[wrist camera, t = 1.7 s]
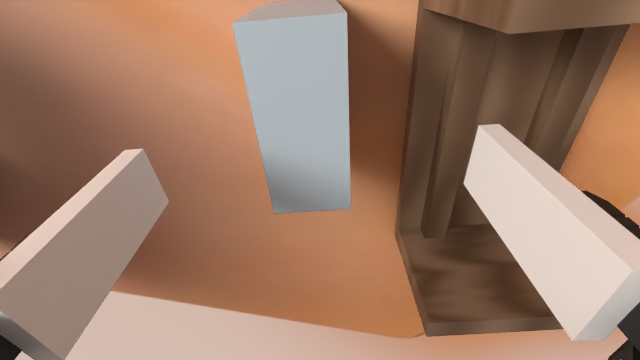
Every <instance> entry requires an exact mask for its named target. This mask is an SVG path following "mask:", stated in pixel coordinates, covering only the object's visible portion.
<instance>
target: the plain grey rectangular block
mask: <svg viewBox="0 0 640 360" xmlns="http://www.w3.org/2000/svg"><path fill="white" fill-rule="evenodd" d="M232 26H233V31H234V35H235V39H236V44H237V48H238V53H239V57H240V62H241V66H242V71H243V75H244V80H245V84H246V89H247V93H248V98H249V102H250V107H251V111H252V115H253V120H254V124H255V129H256V133H257V138H258V142H259V147H260V151H261V156H262V160H263V165H264V169H265V174H266V178H267V183H268V187H269V192H270V196H271V200H272V205H273V209H274V214H280V213H295V212H309V211H324V210H338V209H351V191H350V139H349V87H348V35H347V12H346V11H345V10H344V9H343V7H342V6H341V5H340V4H339V3H338V2H337V1H336V0H292V1H281V2H270V3H265V4H263V5H262V6H260V7H258V8H256V9H255V10H253V11H251V12H250V13H248V14H246V15H244V16H243V17H241V18H239V19H238V20H236V21H234V22H232Z"/></svg>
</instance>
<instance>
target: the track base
mask: <svg viewBox="0 0 640 360" xmlns="http://www.w3.org/2000/svg"><path fill="white" fill-rule="evenodd" d="M633 23H640V0H419V6H418V15H417V25H416V35H415V44H414V54H413V63H412V73H411V83H410V92H409V102H408V111H407V121H406V131H405V140H404V150H403V160H402V169H401V179H400V188H399V198H398V208H397V217H396V227H395V237H396V240H397V243H398V247H399V250H400V253H401V256H402V260H403V263H404V266H405V269H406V272H407V276H408V279H409V282H410V285H411V288H412V292H413V295H414V298H415V301H416V304H417V308H418V311H419V314H420V317H421V321H422V324H423V327H424V330H425V333H426V336H427V337H428V336H446V335H464V334H483V333H501V332H518V331H536V330H555V329H563V327H562V326H561V324H560V323H559V321H558V320H557V318H556V317H555V316H554V314H553V313H552V311H551V310H550V308H549V307H548V305H547V304H546V303H545V301H544V300H543V298H542V297H541V295H540V294H539V292H538V291H537V289H536V288H535V287H534V285H533V284H532V282H531V281H530V279H529V278H528V276H527V275H526V274H525V272H524V271H523V269H522V268H521V266H520V265H519V263H518V262H517V261H516V259H515V258H514V256H513V255H512V253H511V252H510V250H509V249H508V248H507V246H506V245H505V243H504V242H503V240H502V239H501V237H500V236H499V235H498V233H497V232H496V230H495V229H494V227H493V226H492V224H491V223H490V222H489V220H488V219H487V217H486V216H485V214H484V213H483V211H482V210H481V209H480V207H479V206H478V204H477V203H476V201H475V200H474V198H473V197H472V196H471V194H470V193H469V191H468V190H467V188H466V187H465V185H464V180H465V176H466V172H467V168H468V164H469V160H470V156H471V153H472V149H473V145H474V141H475V137H476V133H477V129H478V126H479V125H490V124H500V125H501V126H502V127H504V128H505V129H506V130H507V131H508V132H510V133H511V134H512V135H513V136H514V137H516V138H517V139H518V140H519V141H521V142H522V143H523V144H524V145H525V146H527V147H528V148H529V149H530V150H531V151H533V152H534V153H535V154H536V155H537V156H539V157H540V158H541V159H542V160H544V161H545V162H546V163H547V164H548V165H550V166H551V167H552V168H553V169H554V170H556V171H557V172H559V170H560V168H561V166H562V164H563V162H564V160H565V158H566V156H567V154H568V152H569V150H570V148H571V146H572V143H573V141H574V139H575V137H576V135H577V133H578V131H579V129H580V127H581V125H582V123H583V121H584V119H585V117H586V114H587V112H588V110H589V108H590V106H591V104H592V102H593V100H594V98H595V96H596V94H597V92H598V90H599V88H600V86H601V83H602V81H603V79H604V77H605V75H606V73H607V71H608V69H609V67H610V65H611V63H612V61H613V59H614V57H615V54H616V52H617V50H618V48H619V46H620V44H621V42H622V40H623V38H624V36H625V34H626V32H627V30H628V28H629V26H630V24H633Z"/></svg>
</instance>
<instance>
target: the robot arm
mask: <svg viewBox="0 0 640 360" xmlns="http://www.w3.org/2000/svg"><path fill="white" fill-rule="evenodd" d="M464 185H465V187H466V188H467V190H468V191H469V193H470V194H471V196H472V197H473V198H474V200H475V201H476V203H477V204H478V206H479V207H480V209H481V210H482V211H483V213H484V214H485V216H486V217H487V219H488V220H489V222H490V223H491V224H492V226H493V227H494V229H495V230H496V232H497V233H498V235H499V236H500V237H501V239H502V240H503V242H504V243H505V245H506V246H507V248H508V249H509V250H510V252H511V253H512V255H513V256H514V258H515V259H516V261H517V262H518V263H519V265H520V266H521V268H522V269H523V271H524V272H525V274H526V275H527V276H528V278H529V279H530V281H531V282H532V284H533V285H534V287H535V288H536V289H537V291H538V292H539V294H540V295H541V297H542V298H543V300H544V301H545V303H546V304H547V305H548V307H549V308H550V310H551V311H552V313H553V314H554V316H555V317H556V318H557V320H558V321H559V323H560V324H561V326H562V327H563V329H564V330H565V331H566V333H567V334H568V336H569V337H570V339H571V340H572V341H590V340H605V339H606V338H607V337H608V336H609V335H610V334H611V333H612V332H613V331H614V330H615V328H617V327H618V328H619V329H620V330H621V331H622V332H623V333H624V335H625V336H626V337H627V338H628V340H627V341H626V342H625V343H624V344H623V345H622V346H621V347H620V348H618V349H617V350H616V351H615V352H614V353H613V354H612V355H611V356H610V357H609V359H608V360H621V359H622V360H640V229H639V225H637V224H636V223H635V222H633V221H632V220H631V219H630V218H628V217H627V218H626V217H625V214H623V213H622V212H621V211H619V210H618V209H617V208H616V207H614V206H613V205H612V204H610V203H609V202H608V201H606V200H604V199H602V198H600V197H598V196H596V195H594V194H592V193H590V192H588V191H580V190H579V189H578V188H576V187H575V186H574V185H573V184H571V183H570V182H569V181H568V180H567V179H565V178H564V177H563V176H562V175H561V174H559V173H558V172H557V171H556V170H554V169H553V168H552V167H551V166H550V165H548V164H547V163H546V162H545V161H544V160H542V159H541V158H540V157H539V156H537V155H536V154H535V153H534V152H533V151H531V150H530V149H529V148H528V147H527V146H525V145H524V144H523V143H522V142H521V141H519V140H518V139H517V138H516V137H514V136H513V135H512V134H511V133H510V132H508V131H507V130H506V129H505V128H504V127H502V126H501V125H500V124H490V125H479V126H478V129H477V133H476V137H475V141H474V145H473V149H472V153H471V156H470V160H469V164H468V168H467V172H466V176H465V180H464ZM168 203H169V200H168V198H167V196H166V194H165V192H164V190H163V188H162V186H161V184H160V182H159V180H158V178H157V176H156V174H155V171H154V169H153V167H152V165H151V163H150V161H149V159H148V157H147V155H146V153H145V151H144V149H131V150H124V151H123V152H122V153H121V154H120V155H119V156H118V157H116V158H115V159H114V160H113V161H112V162H111V163H110V164H109V165H107V166H106V167H105V168H104V169H103V170H102V171H101V172H100V173H99V174H97V175H96V176H95V177H94V178H93V179H92V180H91V181H90V182H88V183H87V184H86V185H85V186H84V187H83V188H82V189H81V190H80V191H78V192H77V193H76V194H75V195H74V196H73V197H72V198H71V199H69V200H68V201H67V202H66V203H65V204H64V205H63V206H62V207H61V208H59V209H58V210H57V211H56V212H55V213H54V214H53V215H52V216H50V217H49V218H48V219H47V220H46V221H45V222H44V223H43V224H42V225H40V226H39V227H38V228H37V229H36V230H35V231H34V232H32V233H30V234H29V235H27V236H26V237H25V238H24V239H22V240H21V241H20V242H19V243H18V244H17V245H16V246H15V247H13V248H12V249H11V252H10V253H7V254H6V255H4V256H3V257H2V258H1V259H0V360H15V358H16V357H17V356H18V354H19V353H20V352H21V351H23V352H24V353H25V354H27V355H28V356H30V357H31V358H32V359H34V360H65V358H66V357H67V355H68V354H69V352H70V351H71V349H72V348H73V346H74V344H75V343H76V342H77V340H78V338H79V337H80V336H81V334H82V333H83V331H84V330H85V328H86V327H87V325H88V324H89V322H90V321H91V319H92V317H93V316H94V314H95V313H96V311H97V310H98V308H99V307H100V305H101V304H102V302H103V301H104V299H105V298H106V296H107V295H108V293H109V292H110V290H111V289H112V287H113V286H114V284H115V283H116V281H117V280H118V278H119V277H120V275H121V274H122V272H123V271H124V269H125V268H126V266H127V265H128V263H129V262H130V260H131V259H132V257H133V256H134V254H135V253H136V251H137V250H138V248H139V247H140V245H141V244H142V242H143V241H144V239H145V238H146V236H147V235H148V233H149V232H150V230H151V229H152V227H153V226H154V224H155V223H156V221H157V220H158V218H159V217H160V215H161V214H162V212H163V211H164V209H165V208H166V206H167V205H168Z"/></svg>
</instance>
